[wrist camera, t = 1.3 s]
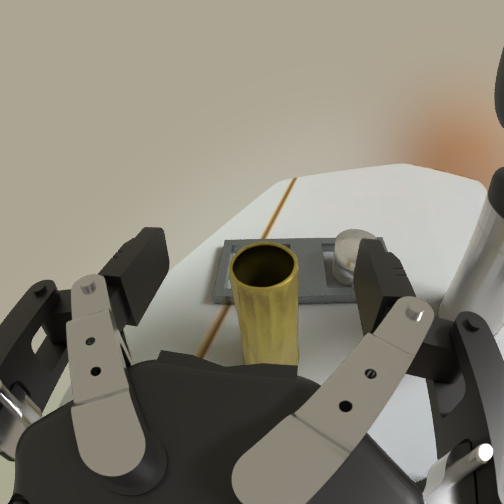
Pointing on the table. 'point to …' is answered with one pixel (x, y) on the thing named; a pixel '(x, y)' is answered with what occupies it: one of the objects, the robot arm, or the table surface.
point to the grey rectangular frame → (306, 266)
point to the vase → (266, 302)
